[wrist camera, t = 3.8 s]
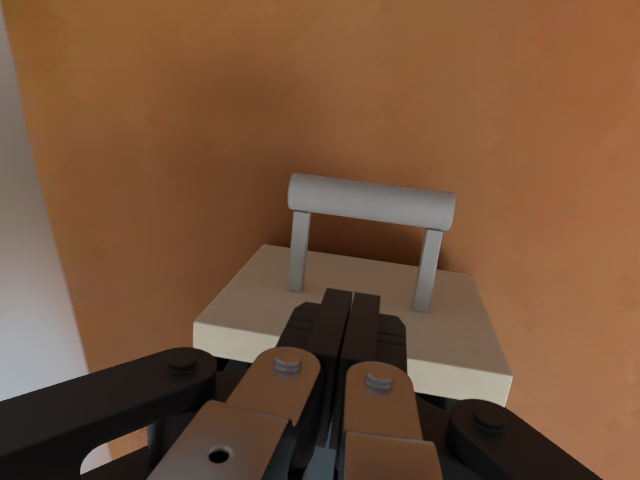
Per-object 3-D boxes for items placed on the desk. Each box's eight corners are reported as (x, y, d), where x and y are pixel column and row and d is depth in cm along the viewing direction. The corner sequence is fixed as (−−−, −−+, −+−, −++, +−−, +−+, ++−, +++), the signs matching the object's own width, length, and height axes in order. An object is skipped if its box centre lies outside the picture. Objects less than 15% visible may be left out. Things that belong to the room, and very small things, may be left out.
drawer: (269, 150, 23) (195, 183, 14) (491, 178, 21) (551, 230, 13) (249, 457, 28) (187, 608, 20) (425, 493, 27) (437, 669, 19)
